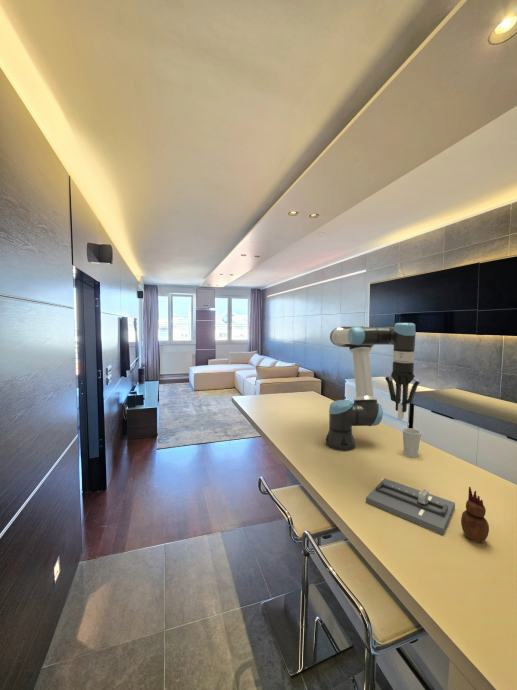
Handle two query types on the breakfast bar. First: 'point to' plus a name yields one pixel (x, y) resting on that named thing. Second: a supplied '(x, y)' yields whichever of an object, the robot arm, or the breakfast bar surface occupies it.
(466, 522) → the wooden figurine
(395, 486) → the console
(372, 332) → the robot arm
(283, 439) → the breakfast bar surface
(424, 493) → the fader
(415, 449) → the cup
